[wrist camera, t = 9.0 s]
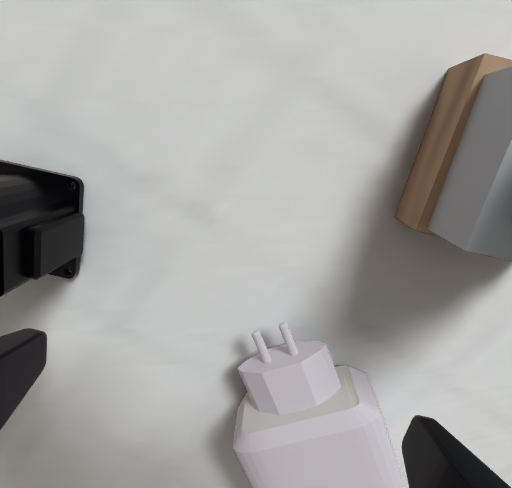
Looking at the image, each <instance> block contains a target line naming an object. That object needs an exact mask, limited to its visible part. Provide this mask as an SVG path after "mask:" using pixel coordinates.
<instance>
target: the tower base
mask: <svg viewBox="0 0 512 488" xmlns="http://www.w3.org/2000/svg"><path fill="white" fill-rule="evenodd" d="M511 66H512V60H510V59H506V58H502V57H498V56H494V55H489V54H485V53H484V54H482V55H480V56H477V57H475V58H473V59H470V60H468V61H465V62H463V63H461V64H458V65H456V66H453V67H451V68H449V69H448V72H447V74H446V77H445V80H444V83H443V85H442V88H441V91H440V94H439V96H438V99H437V102H436V104H435V107H434V110H433V113H432V115H431V118H430V121H429V124H428V126H427V129H426V132H425V134H424V137H423V140H422V143H421V145H420V148H419V151H418V154H417V156H416V159H415V162H414V165H413V167H412V170H411V173H410V175H409V178H408V181H407V184H406V186H405V189H404V192H403V195H402V197H401V200H400V203H399V205H398V208H397V211H396V214H395V216H394V217H395V218H397V219H398V220H400V221H401V222H403V223H404V224H406V225H408V226H409V227H411V228H412V229H414V230H415V231H419V232H423V233H427V234H431V235H436V236H439V235H437V234H435V233H433V232H432V231H430V230H428V229H427V227H428V224H429V221H430V219H431V216H432V213H433V211H434V208H435V205H436V203H437V200H438V198H439V195H440V192H441V190H442V187H443V184H444V182H445V179H446V176H447V174H448V171H449V168H450V166H451V163H452V160H453V158H454V155H455V152H456V150H457V147H458V144H459V142H460V139H461V136H462V134H463V131H464V128H465V126H466V123H467V120H468V118H469V115H470V112H471V110H472V107H473V104H474V102H475V99H476V97H477V94H478V91H479V89H480V86H481V83H482V81H483V78H484V75H486V74H489V73H492V72H495V71H498V70H502V69H505V68H508V67H511Z"/></svg>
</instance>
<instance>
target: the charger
mask: <svg viewBox="0 0 512 488" xmlns="http://www.w3.org/2000/svg"><path fill="white" fill-rule="evenodd" d="M279 328H280V331H281V333H282V336H283V338H284V341H285V343H286V344H283V345H280V346H276V347H273V348H269V349H267V347H266V345H265V343H264V340H263V338H262V335H261V333H260V331H254V332H253V333H252V337H253V339H254V341H255V344H256V346H257V348H258V351H259V353H258V354H256V355H255V356H253V357H251V358H250V359H248V360H246V361H245V362H244V363H243V364H241V365H240V366H239V367H238V368H237V369H238V371H239V373H240V376H241V378H242V380H243V382H244V384H245V387H246V389H247V391H248V392H247V393H246V395H245V396H244V398H243V400H242V402H241V403H240V405H239V407H238V411H237V418H236V424H235V431H234V438H233V445H232V446H233V450H234V452H235V454H236V456H237V458H238V460H239V462H240V464H241V466H242V468H243V470H244V472H245V474H246V476H247V478H248V480H249V482H250V484H251V486H252V488H406V485H405V482H404V479H403V476H402V473H401V470H400V467H399V464H398V461H397V458H396V455H395V452H394V449H393V446H392V443H391V440H390V437H389V434H388V431H387V427H386V424H385V421H384V418H383V415H382V412H381V409H380V407H379V404H378V401H377V399H376V396H375V394H374V391H373V388H372V386H371V383H370V381H369V378H368V375H367V374H366V373H365V372H363V371H360V370H358V369H355V368H352V367H350V366H347V365H340V366H335V367H334V364H333V361H332V359H331V356H330V353H329V350H328V348H327V345H326V343H323V342H320V341H304V340H297V341H294V340H293V337H292V335H291V332H290V329H289V327H288V324H287V323H281V324H280V325H279Z"/></svg>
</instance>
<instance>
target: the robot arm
mask: <svg viewBox="0 0 512 488" xmlns="http://www.w3.org/2000/svg"><path fill="white" fill-rule="evenodd" d="M72 182H74V183H75V185H76V188H75V189H73V187H72V185H71V183H72ZM83 192H84V185H83V182H82V180H81V179H79V178H78V177H75V176H70V175H66V174H61V173H57V172H52V171H48V170H43V169H39V168H35V167H30V166H26V165H21V164H17V163H12V162H8V161H3V160H0V296H3V295H4V294H6V293H8V292H10V291H12V290H13V289H15V288H17V287H19V286H20V285H22V284H24V283H26V282H27V281H29V280H31V279H35V280H37V279H39V278H41V277H43V276H45V275H46V274H50V275H54V276H59V277H63V278H73V277H75V276H76V275H77V274H78V273H79V263H80V254H82V251H83V234H84V215H83V213H82V209H83ZM68 268H70V269H71V271H72V273H71V272H69V271H68ZM46 356H47V335H46V333H45V332H43V331H39V330H35V329H29V328H28V329H23V330H20V331H17V332H14V333H11V334H7V335H4V336H1V337H0V430H1V428H2V427H3V426H4V424H5V423H6V422H7V420H8V419H9V417H10V416H11V415H12V413H13V412H14V410H15V409H16V407H17V406H18V405H19V403H20V402H21V400H22V399H23V398H24V396H25V395H26V393H27V392H28V391H29V389H30V388H31V386H32V385H33V383H34V382H35V381H36V379H37V378H38V376H39V375H40V374H41V372H42V371H43V369H44V367H45V364H46ZM402 453H403V458H404V463H405V468H406V473H407V478H408V484H409V488H511V487H510V486H509V485H508V484H507V483H505V482H504V481H503V480H502V479H501V478H500V477H499V476H498V475H496V474H495V473H494V472H493V471H492V470H491V469H490V468H489V467H487V466H486V465H485V464H484V463H483V462H482V461H481V460H480V459H478V458H477V457H476V456H475V455H474V454H473V453H472V452H471V451H469V450H468V449H467V448H466V447H465V446H464V445H463V444H462V443H460V442H459V441H458V440H457V439H456V438H455V437H454V436H453V435H452V434H450V433H449V432H448V431H447V430H446V429H445V428H444V427H443V426H441V425H440V424H439V423H438V422H437V421H436V420H434V419H432V418H429V417H425V416H420V415H417V416H415V417H413V419H412V421H411V423H410V425H409V427H408V430H407V432H406V434H405V436H404V438H403V441H402Z"/></svg>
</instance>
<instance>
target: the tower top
mask: <svg viewBox="0 0 512 488" xmlns="http://www.w3.org/2000/svg"><path fill="white" fill-rule="evenodd" d="M511 223H512V66H511V67H508V68H505V69H502V70H498V71H495V72H492V73H489V74H486V75H484V78H483V81H482V83H481V86H480V89H479V91H478V94H477V97H476V99H475V102H474V104H473V107H472V110H471V112H470V115H469V118H468V120H467V123H466V126H465V128H464V131H463V134H462V136H461V139H460V142H459V144H458V147H457V150H456V152H455V155H454V158H453V160H452V163H451V166H450V168H449V171H448V174H447V176H446V179H445V182H444V184H443V187H442V190H441V192H440V195H439V198H438V200H437V203H436V205H435V208H434V211H433V213H432V216H431V219H430V221H429V224H428V227H427V229H428V230H430V231H432V232H433V233H435V234H437V235H439V236H440V237H442V238H444V239H445V240H447V241H449V242H450V243H452V244H454V245H455V246H457V247H459V248H460V249H462V250H464V251H467V252H472V253H476V254H481V255H486V256H490V257H495V258H500V259H504V260H509V261H512V224H511Z"/></svg>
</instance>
